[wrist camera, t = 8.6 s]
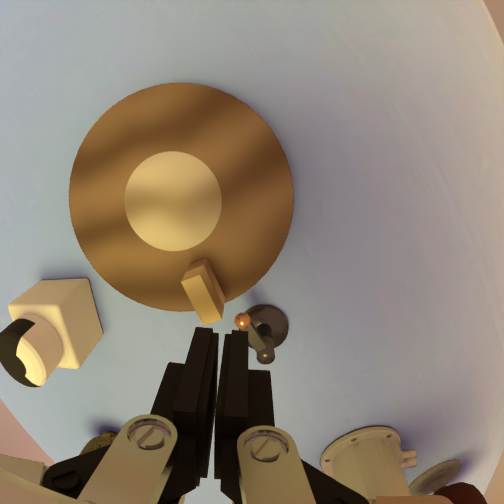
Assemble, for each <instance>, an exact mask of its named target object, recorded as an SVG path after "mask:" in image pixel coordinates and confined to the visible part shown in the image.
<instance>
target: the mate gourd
mask: <svg viewBox="0 0 504 504" xmlns="http://www.w3.org/2000/svg"><path fill="white" fill-rule="evenodd" d="M461 466H462V465H461V463H460V461H458V460H450V461H446V462H443V463H441V464H439V465H436V466H434V467H433V468H431V469H429V470H427V471H426V472H424V473H423V474H421V475H420V476H419V477H418V478H416V479H415V480H414V481H413V482H412V483H411V485H410V486H409V489H410V491H411V494H412V496H423V495H426V494H429V493H431V492H434V494H433V495H440V496H444V497H446V498H448V499H449V500H450V501H451V502H452V503H453V504H487V502H486V501H485V498H484V497H483V495H482V494H481V493H480V491H479V490H478V489H477V488H476V487H475V486H474V485H471V484H467V483H464V482H459V483H455V484H452V485H449V486H446V484H447V483H448V482H450V481H451V480H452V479H453V478H454V477H455V476H456V475H457V474H458V473H459V471H460V469H461Z"/></svg>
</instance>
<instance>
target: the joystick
mask: <svg viewBox="0 0 504 504" xmlns="http://www.w3.org/2000/svg"><path fill="white" fill-rule="evenodd" d="M234 322H235V325H236V326H237V327H238V328H239V331H248V346H249V347H251V348H253V349H255V351H256V352H257V360H258V362H259V363H261V364H270V363H272V362H273V361H274V359H275V353H274V348H276V347H277V346H279V345H280V344H281V343H283V341H284V340H285V339H286V337H287V334H288V323H287V319H286V317H285V315H284V314H283V313H282V312H281V311H280V310H279V309H277V308H275V307H273V306H269V305H259V306H255V307H253V308H251V309H249V310H248V311H246V312H245V313H239V314H238V315H236V317H235V320H234Z"/></svg>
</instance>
